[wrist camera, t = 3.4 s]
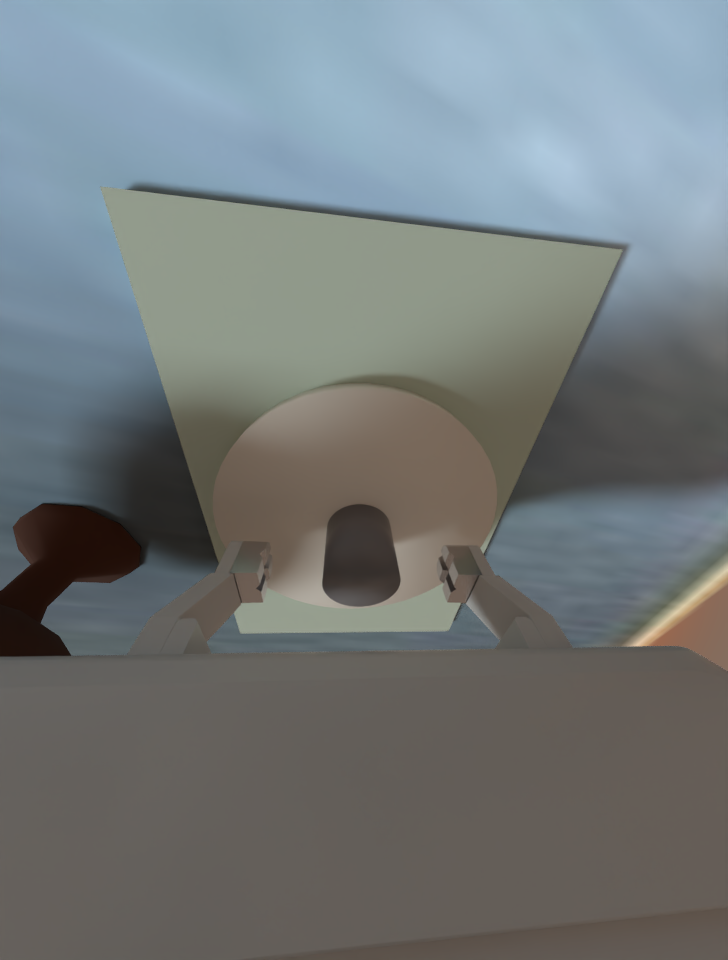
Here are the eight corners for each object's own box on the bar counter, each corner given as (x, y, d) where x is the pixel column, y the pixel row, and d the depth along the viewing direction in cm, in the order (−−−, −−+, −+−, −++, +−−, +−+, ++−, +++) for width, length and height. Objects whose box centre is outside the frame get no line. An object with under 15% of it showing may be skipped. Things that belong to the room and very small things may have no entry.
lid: (187, 370, 10) (103, 406, 6) (532, 393, 11) (615, 435, 7) (245, 593, 17) (220, 666, 13) (450, 593, 18) (474, 660, 15)
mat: (116, 194, 8) (100, 186, 7) (607, 252, 9) (623, 249, 8) (243, 624, 20) (240, 633, 19) (445, 623, 21) (448, 631, 20)
